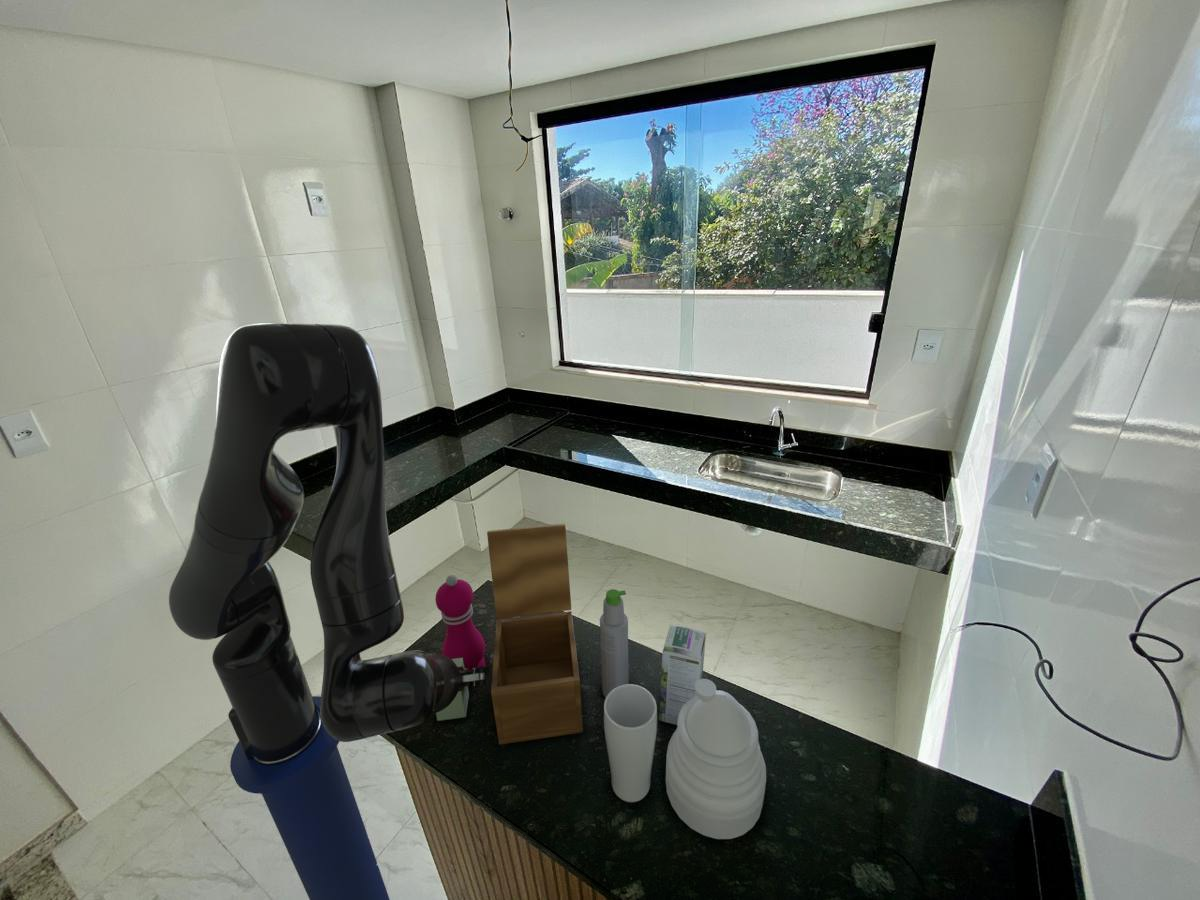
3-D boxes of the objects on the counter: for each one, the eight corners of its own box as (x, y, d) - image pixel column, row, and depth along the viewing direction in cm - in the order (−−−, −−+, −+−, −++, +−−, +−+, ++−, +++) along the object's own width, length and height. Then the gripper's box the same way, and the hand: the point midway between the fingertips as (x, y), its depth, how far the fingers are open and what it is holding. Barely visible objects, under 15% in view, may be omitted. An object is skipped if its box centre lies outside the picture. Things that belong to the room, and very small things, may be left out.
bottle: (627, 703, 78) (626, 603, 71) (601, 701, 79) (597, 602, 71) (629, 681, 82) (628, 584, 75) (603, 679, 83) (600, 583, 75)
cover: (565, 525, 79) (565, 523, 80) (486, 532, 78) (487, 530, 78) (571, 610, 82) (571, 607, 83) (496, 618, 81) (496, 616, 82)
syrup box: (665, 691, 80) (667, 622, 74) (701, 700, 78) (706, 630, 73) (658, 721, 75) (660, 649, 69) (697, 731, 73) (702, 658, 68)
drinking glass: (596, 791, 66) (592, 712, 60) (622, 751, 71) (621, 675, 65) (640, 821, 62) (640, 740, 56) (664, 776, 67) (666, 698, 61)
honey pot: (664, 831, 61) (667, 731, 54) (666, 737, 73) (669, 644, 66) (771, 846, 59) (788, 744, 52) (755, 747, 71) (767, 652, 64)
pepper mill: (437, 681, 83) (417, 586, 76) (460, 650, 90) (444, 559, 82) (474, 690, 81) (458, 594, 74) (495, 658, 88) (482, 566, 80)
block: (437, 721, 76) (429, 683, 73) (442, 697, 80) (434, 661, 77) (465, 717, 77) (458, 679, 74) (469, 693, 81) (462, 657, 78)
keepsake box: (582, 732, 74) (579, 680, 70) (499, 744, 72) (490, 691, 68) (574, 658, 87) (571, 610, 83) (503, 667, 86) (496, 619, 81)
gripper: (479, 647, 65) (495, 648, 81) (369, 660, 64) (407, 659, 79) (481, 709, 62) (497, 698, 78) (365, 725, 61) (405, 710, 77)
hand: (451, 678), depth 79 cm, fingers closed on block, 4 cm apart
